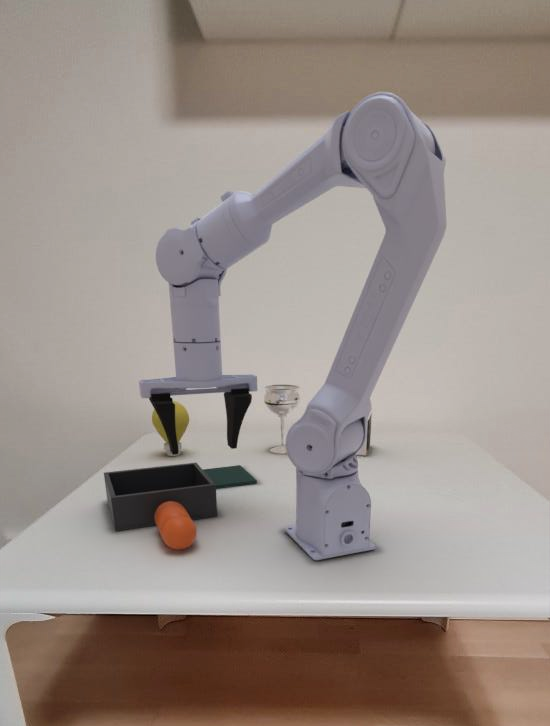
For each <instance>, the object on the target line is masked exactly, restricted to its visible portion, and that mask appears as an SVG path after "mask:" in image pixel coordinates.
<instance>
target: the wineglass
mask: <svg viewBox="0 0 550 726" xmlns="http://www.w3.org/2000/svg"><path fill="white" fill-rule="evenodd" d="M263 388H264V390H265V394H264V396H263V397H264V398H263V402H264V404H265V407H266V408H267V410H269V411H270V412H271V413H272V414H275V415H277V417H278V418H279V423H280V439H281V440H280V441H281V445H279V446H275V447H271V448H269V452H271V453H273V454H280V455H281V454H282V455H283V454H287V451H286V445H284V444H285V418H287V416H288V415H290V414H292V413H294V412H295V411H296V410H297V409H298V408H299V405H300V403H301V394H300V393H299V391H300V389H301V386H299V385H295V384H270V385H265V386H264V387H263Z"/></svg>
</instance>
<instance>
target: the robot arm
mask: <svg viewBox="0 0 550 726" xmlns="http://www.w3.org/2000/svg"><path fill="white" fill-rule="evenodd" d="M446 164H447V159H446V156H445V154H444V151H443V150H442V148H441V146H440V143H439V140H438V139H437V135H436V134H435V133H434V131H433V129H432V128H431V127H430V126H429V125H428V124H427V123H425V122H424V121H422V120H421V119H420V118H418V116H417V115H415V113H413V112H412V110H411V109H410V108H409V106H408V105H407V103H406V102H405V100H403V99H402V98H401V97H400V96H398V95H397V94H395V93H392V92H390V91H378V92H374V93H370V94H369V95H367V96H365V97H364V98H363V99H361V100H359V102H358V103H357V104H356V105H355V106H354V107H353V108H352V110H351V111H350V110H347V111H345V112H343V113H341V114H339V115H337V116H335V118H334V120H333V121H332V122H331V124H330V126H329V127H328V128H327V130H326V131H325V132H324V134H323V135H322V136H321V137H320V138H318V139H317V140H316V141H315V142H314V143H312V144H311V145H310V146H309V147H308V148H306V149H305V150H304V151H303V152H302V153H301V154H299V155H298V156H297V157H296V158H295V159H293V160H292V161H291V162H289V164H287V165H286V166H285V167H284V168H283V169H282V170H280V171H279V172H278V173H277V174H276V175H274V176H273V177H272V178H270V180H268V182H266V183H265V184H264V185H262V186H261V187H260V188H259V189H258V190H257V191H256V192H254V193H251V192H249V191H246V190H236V191H235V192H234V191H232V190H227V191H226V192H224V193H222V194H221V196H220V200H221V202H220V203H219V204H218V205H216V206H215V207H214V208H212V209H211V210H210V211H209V212H207V213H206V214H205V215H204V216H202V217H195V218H193V219H192V220H191V221H190V226H189V227H187V229H184V228H180V227H171V228H167V230H166V231H165V232H164V234H163V235H162V236H161V237H160V239H159V241H158V243H157V245H156V250H155V263H156V267H157V269H158V273H159V274H160V276H161V277H162V278H163V280H164V281H165V282H166V283H168V288H169V289H168V290H169V292H168V294H169V303H170V304H169V306H170V318H171V331H172V341H173V342H172V344H173V355H174V369H175V376H171V377H161V378H151V379H138V386H139V396H140V397H141V398H142V399H148V400H149V402H150V404H151V405H152V407H153V410H154V409H155V411H156V413H157V414H158V416H159V419H160V421H161V423H162V425H163V428H164V430H165V433H166V436H167V439H168V442H169V446H170V451H171V453H172V454H173V455H174V454H178V442H177V435H176V426H175V404H174V403H173V401H174V400H173V397H174V396H185V395H187V396H189V395H201V394H203V395H204V394H205V395H206V394H218V393H223V398H224V405H225V413H226V414H225V415H226V441H227V446H228V447H229V448H230V449H237V448H238V442H239V437H240V431H241V429H242V425H243V421H244V419H245V416H246V414H247V412H248V409H249V407H250V406H251V404H252V399H253V394H251V393H250V392H252V393H253V392H258V376H257V375H254V374H223V361H222V341H221V321H220V318H221V317H220V300H219V299H220V297H221V296H222V295H221V294H222V293H221V287H222V286H221V285H222V282H223V280H224V279H225V276H226V274H227V271H228V269H229V268H231V267H232V266H233V265H235V264H237V263H238V262H240V261H241V260H243V259H245V258H246V257H247V256H249V255H250V254H252V253H253V252H254V251H257V250H258V249H259V248H261V247H262V246H264V245H265V244H266V243H268V242H269V240H270V237H271V232H272V228H273V225H274V224H276V223H277V222H278V221H280V220H282V219H284V218H286V217H287V216H288V215H290V214H292V213H294V212H295V211H297V210H299V209H300V208H302V207H304V206H305V205H307V204H309V203H310V202H312V201H314V200H316V199H317V198H318V197H321V196H322V195H324V194H326V193H328V192H329V191H331V190H332V189H334V188H336V187H345V188H346V187H347V188H357V189H359V188H360V189H366V190H367V191H368V192H369V193H370V194H371V196H372V198H373V201H374V204H375V206H376V208H377V211H378V214H379V216H380V218H381V221H382V223H383V226H384V228H385V233H384V236H383V238H382V241H381V243H380V246H379V248H378V250H377V253H376V256H375V258H374V261H373V263H372V266H371V268H370V270H369V273H368V275H367V277H366V280H365V283H364V285H363V287H362V291H361V292H360V295H359V298H358V300H357V303H356V305H355V307H354V310H353V312H352V314H351V317H350V319H349V322H348V324H347V327H346V330H345V332H344V334H343V337H342V340H341V342H340V344H339V347H338V349H337V352H336V354H335V356H334V360H333V362H332V364H331V366H330V369H329V372H328V374H327V377H326V379H325V381H324V383H323V385H321V387H320V389H319V390H318V391H317V392H316V393H315V394H314V395H313V397H312V398H311V399H310V401H309V402H307V406H306V408H305V411H304V413H302V415H301V417H300V418H299V419H298V420H296V421H295V422H294V423H293V424H292V425H291V426H290V428H289V429H288V431H287V433H286V438H285V446H286V451H287V453H286V455H287V456H288V459H289V461H290V462H291V464H292V465H293V466H294V467H295V474H296V475H295V481H296V482H295V490H296V491H295V509H296V510H295V512H296V513H295V524H292V525H286V526H284V532H285V533H286V534H287V535H289V536H290V538H292V540H293V541H294V542H296V544H297V545H298V546H299V547H300V548H301V549H302V550H303V551H304V552H305V553H306V554H307V555H308V556H309V557H310V558H311V559H312V560H314V561H320V560H326V559H332V558H336V557H341V556H347V555H350V554H351V555H352V554H358V553H362V552H367V551H372V550H375V549H376V544H375V543H374V542H372V540H370V534H371V533H370V531H371V529H370V528H371V513H372V500H371V496H370V493H369V492H368V490H367V489H366V487H364V486H363V484H362V483H361V480H360V478H359V461H358V457H357V456H358V455H357V452H358V451H359V450H360V449H361V448H362V447H363V445H364V443H365V440H366V436H367V426H366V425H367V419H368V416H369V414H370V411H371V412H372V409H373V408H372V401H371V397H372V394H373V392H374V390H375V387H376V385H377V383H378V381H379V379H380V376H381V374H382V373H383V370H384V368H385V366H386V363H387V361H388V359H389V357H390V355H391V352H392V351H393V348H394V346H395V344H396V342H397V339H398V337H399V335H400V333H401V330H402V329H403V326H404V324H405V321H406V319H407V317H408V316H409V313H410V311H411V309H412V306H413V304H414V302H415V300H416V298H417V296H418V293H419V292H420V289H421V287H422V284H423V282H424V281H425V279H426V276H427V273H428V272H429V269H430V268H431V265H432V263H433V261H434V258H435V256H436V254H437V252H438V250H439V247H440V245H441V243H442V241H443V239H444V236H445V233H446V229H447V210H446V209H447V207H446V190H445V189H446V187H445V168H446ZM171 396H173V397H171Z"/></svg>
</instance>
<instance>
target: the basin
mask: <svg viewBox="0 0 550 726" xmlns="http://www.w3.org/2000/svg"><path fill="white" fill-rule="evenodd" d="M103 478H104V486H105V493H106V501H107V506H108V509H109V513H110V518H111V521H112V524H113V528H114V531H115V532H120V531H128V530H133V529H140V528H148V527H154V526H157V525H156V523H155V512H156V510H157V508H158V507H159V506H160V505H161V504H163V503H165V502H168V501H173V502H177V503H179V504H181V505H182V506H183V507H184V508H185V509H186V511H187V513H188V514H189V516H190V518H191V519H192V521H194V520H201V519H209V518H214V517H218V501H217V499H218V498H217V488H216V485H215V484H214V482H213V481H212V480H211V479H210V478H209V477H208V475H207V474H206V473H205V472H204V471H203V468H202V467H201V466H200V465H199V464H198V462H188V463H179V464H169V465H160V466H152V467H151V466H150V467H142V468H141V467H140V468H133V469H132V468H131V469H124V470H113V471H105V472H103Z"/></svg>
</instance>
